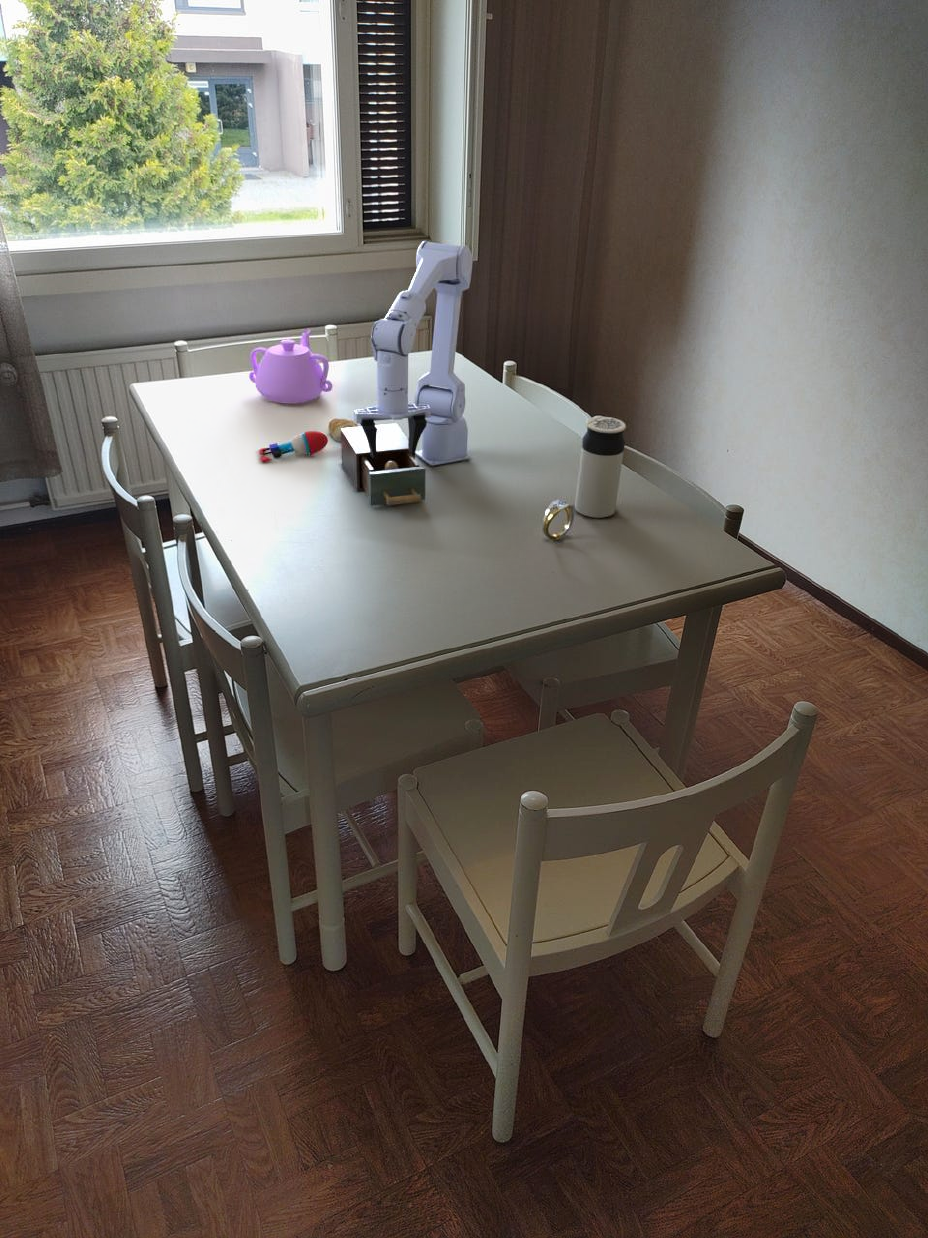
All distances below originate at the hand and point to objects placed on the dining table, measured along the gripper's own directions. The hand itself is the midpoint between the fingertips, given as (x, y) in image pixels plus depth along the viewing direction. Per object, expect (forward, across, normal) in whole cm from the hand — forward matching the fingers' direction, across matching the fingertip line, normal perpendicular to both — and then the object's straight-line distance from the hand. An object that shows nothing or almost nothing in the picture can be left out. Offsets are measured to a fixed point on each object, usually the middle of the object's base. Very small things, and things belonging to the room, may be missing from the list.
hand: (392, 454), depth 176 cm
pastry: (+10, -2, +35) cm, 36 cm away
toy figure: (+10, -15, +26) cm, 32 cm away
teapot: (+10, -8, +65) cm, 67 cm away
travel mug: (+10, +37, -15) cm, 41 cm away
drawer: (+9, 0, 0) cm, 9 cm away
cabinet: (+9, 0, +12) cm, 15 cm away
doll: (+8, 0, +1) cm, 8 cm away
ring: (+10, +25, -24) cm, 36 cm away
